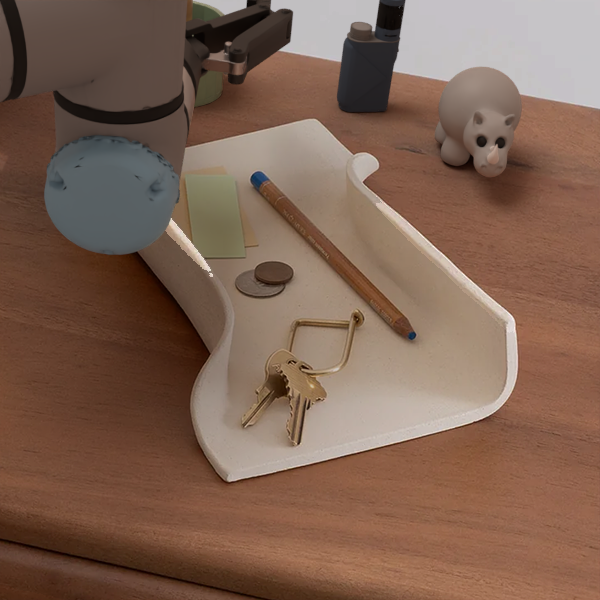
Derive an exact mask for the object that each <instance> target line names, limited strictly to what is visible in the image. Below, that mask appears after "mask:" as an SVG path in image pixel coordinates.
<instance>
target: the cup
mask: <svg viewBox="0 0 600 600" xmlns="http://www.w3.org/2000/svg"><path fill="white" fill-rule="evenodd" d="M223 15H225V14H224V13H223V12H222V11H221V10H220V9H218V8H216V7H215V6H212V5H210V4H207V3H204V2H200V1H196V0H193V11H192V20H193V19H196V18H199V19H201V20H203V21H205V22H206V21H209V20H212V19H215V18H217V17H220V16H223ZM192 36H193V35H192ZM224 83H225V74H223V72H217V71H210V70H209V71H208V72H207V74H205V75H204V76H202V77H201V78H200V80H199V86H198V91H197V96H196V101H195V105H194V108H196V107H201V106H205V105H208V104H211V103H213V102H215V101H216V100H218V99H219V98H220V97H221V95H222V94H223V91H224V90H223V89H224Z"/></svg>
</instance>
